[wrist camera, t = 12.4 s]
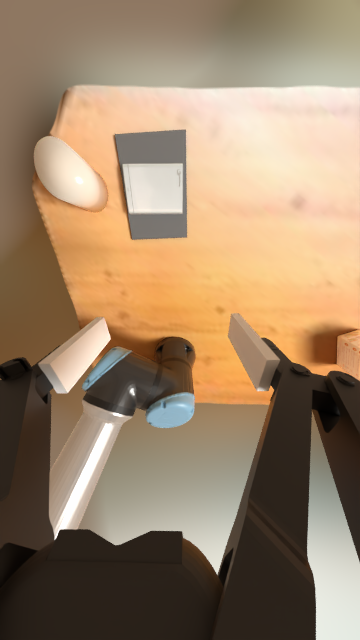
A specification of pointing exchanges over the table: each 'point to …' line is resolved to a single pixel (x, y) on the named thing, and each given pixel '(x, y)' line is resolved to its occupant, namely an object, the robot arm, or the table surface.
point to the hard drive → (154, 188)
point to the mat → (155, 151)
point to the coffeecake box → (349, 353)
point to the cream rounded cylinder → (69, 175)
